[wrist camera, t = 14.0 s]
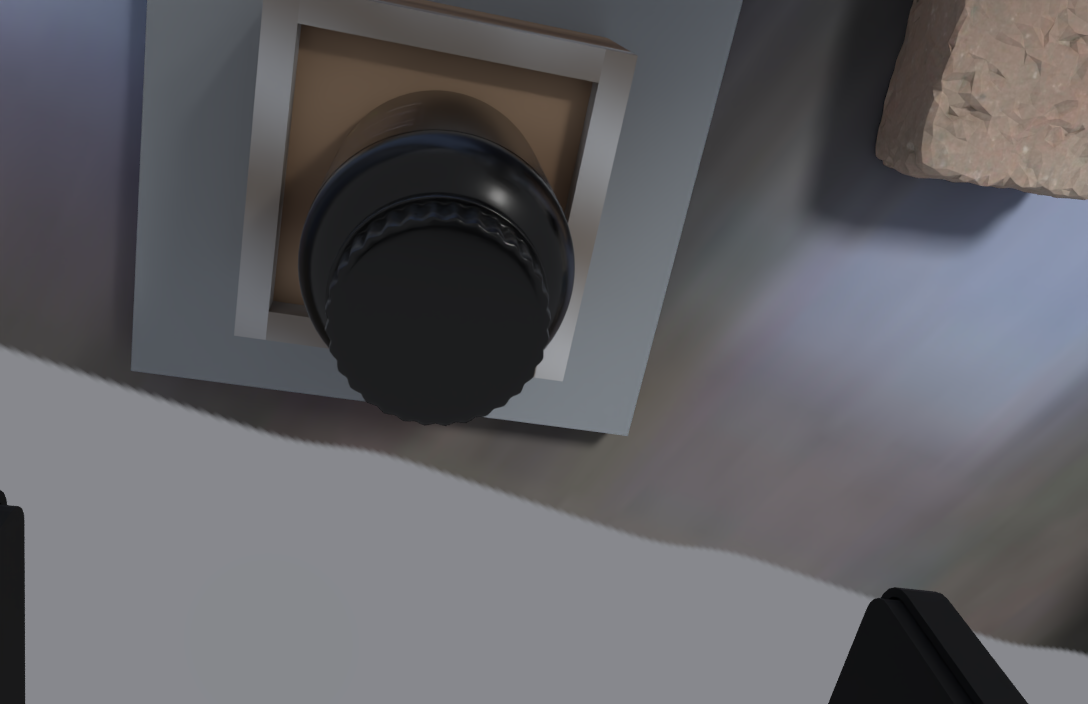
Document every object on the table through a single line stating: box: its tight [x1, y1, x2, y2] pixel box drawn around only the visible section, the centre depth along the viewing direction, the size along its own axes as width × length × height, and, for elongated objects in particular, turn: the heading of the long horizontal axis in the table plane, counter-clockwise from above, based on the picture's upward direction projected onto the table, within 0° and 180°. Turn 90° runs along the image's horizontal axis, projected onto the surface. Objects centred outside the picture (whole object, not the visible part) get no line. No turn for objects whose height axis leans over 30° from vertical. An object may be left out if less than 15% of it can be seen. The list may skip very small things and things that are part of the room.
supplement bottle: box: [298, 90, 575, 426], centre depth 26 cm, size 7×7×12 cm
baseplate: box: [131, 0, 743, 436], centre depth 36 cm, size 20×20×2 cm
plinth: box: [234, 0, 638, 381], centre depth 33 cm, size 11×11×6 cm
